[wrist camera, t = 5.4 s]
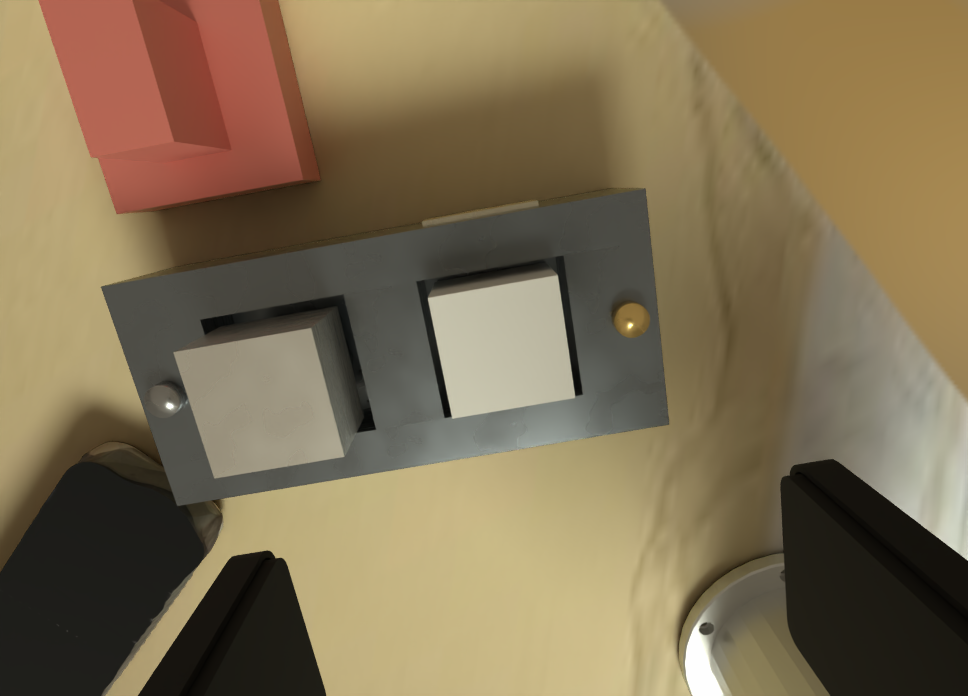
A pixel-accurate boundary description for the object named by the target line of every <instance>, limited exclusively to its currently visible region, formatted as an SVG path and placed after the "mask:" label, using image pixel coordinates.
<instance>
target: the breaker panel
mask: <svg viewBox="0 0 968 696" xmlns="http://www.w3.org/2000/svg"><path fill="white" fill-rule="evenodd" d="M544 262H546V263H547V264H548V265H549V266H550V267H551V268H552V269H553V270H554V272H555V273H556V274H557V275H558V280H559V287H560V294H561V301H562V308H563V315H564V322H565V329H566V336H567V343H568V350H569V357H570V364H571V371H572V378H573V385H574V392H575V398H573V399H567V400H561V401H555V402H549V403H543V404H537V405H531V406H525V407H519V408H513V409H507V410H501V411H495V412H489V413H484V414H478V415H472V416H466V417H460V418H454V419H452V415H451V410H450V405H449V400H448V395H447V390H446V385H445V380H444V375H443V370H442V366H441V361H440V356H439V351H438V346H437V341H436V336H435V331H434V326H433V321H432V316H431V311H430V307H429V302H428V296H429V294H430V292H431V290H432V287H433V285H434V283H435V282H437V281H442V280H448V279H454V278H459V277H465V276H471V275H476V274H482V273H488V272H493V271H499V270H505V269H510V268H516V267H521V266H527V265H533V264H538V263H544ZM101 288H102V291H103V294H104V297H105V300H106V303H107V306H108V309H109V311H110V314H111V317H112V320H113V323H114V326H115V329H116V331H117V334H118V337H119V340H120V343H121V346H122V349H123V352H124V354H125V357H126V360H127V363H128V366H129V369H130V372H131V375H132V377H133V380H134V383H135V386H136V389H137V392H138V395H139V397H140V400H141V403H142V406H143V409H144V412H145V415H146V418H147V420H148V423H149V426H150V429H151V432H152V435H153V438H154V441H155V443H156V446H157V449H158V452H159V455H160V458H161V461H162V464H163V466H164V469H165V472H166V475H167V478H168V481H169V484H170V486H171V489H172V492H173V495H174V498H175V501H176V504H177V506H181V505H187V504H193V503H199V502H205V501H211V500H217V499H223V498H229V497H235V496H241V495H247V494H253V493H259V492H265V491H271V490H277V489H283V488H289V487H295V486H301V485H307V484H313V483H319V482H325V481H331V480H337V479H343V478H349V477H355V476H361V475H367V474H373V473H379V472H385V471H392V470H398V469H404V468H410V467H416V466H422V465H428V464H434V463H440V462H446V461H452V460H458V459H464V458H470V457H476V456H482V455H488V454H494V453H500V452H506V451H512V450H518V449H524V448H530V447H536V446H542V445H548V444H554V443H560V442H566V441H572V440H578V439H584V438H590V437H596V436H603V435H609V434H615V433H621V432H627V431H633V430H639V429H645V428H651V427H657V426H663V425H669V417H668V407H667V397H666V387H665V377H664V367H663V357H662V347H661V338H660V328H659V318H658V308H657V298H656V288H655V278H654V268H653V258H652V248H651V238H650V228H649V218H648V208H647V199H646V189H645V188H610V189H605V190H599V191H593V192H588V193H582V194H577V195H571V196H566V197H560V198H555V199H549V200H544V201H538V200H528V201H523V202H517V203H512V204H506V205H501V206H495V207H490V208H484V209H479V210H473V211H468V212H462V213H457V214H451V215H445V216H440V217H434V218H429V219H425V220H424V221H422V223H416V224H411V225H405V226H400V227H394V228H389V229H383V230H378V231H372V232H367V233H361V234H355V235H350V236H344V237H339V238H333V239H328V240H322V241H317V242H311V243H306V244H300V245H295V246H289V247H284V248H278V249H272V250H267V251H261V252H256V253H250V254H245V255H239V256H234V257H228V258H223V259H217V260H212V261H206V262H201V263H195V264H189V265H184V266H178V267H173V268H170V269H166V270H162V271H158V272H155V273H151V274H147V275H143V276H139V277H136V278H132V279H128V280H124V281H121V282H117V283H113V284H109V285H105V286H102V287H101Z"/></svg>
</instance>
